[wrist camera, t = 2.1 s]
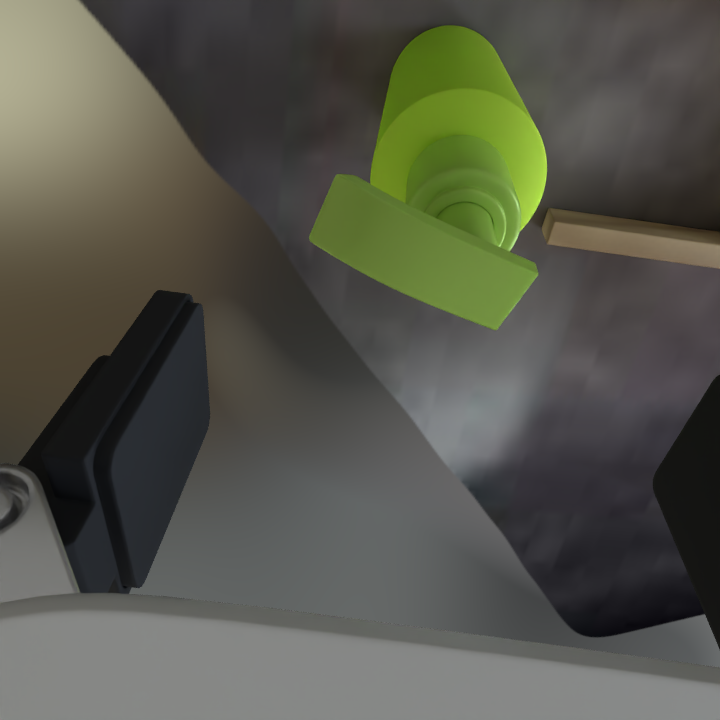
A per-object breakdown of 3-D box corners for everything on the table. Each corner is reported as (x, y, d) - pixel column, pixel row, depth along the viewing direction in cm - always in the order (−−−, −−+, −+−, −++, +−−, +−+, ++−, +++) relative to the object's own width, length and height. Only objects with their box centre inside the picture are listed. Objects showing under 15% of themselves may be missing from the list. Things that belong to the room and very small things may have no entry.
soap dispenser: (402, -9, 27) (372, 92, 12) (527, 60, 29) (653, 236, 13) (353, 109, 31) (276, 312, 15) (466, 166, 32) (506, 408, 16)
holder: (635, -59, 25) (649, -58, 24) (892, -23, 25) (922, -19, 24) (540, 229, 34) (546, 244, 32) (733, 256, 34) (748, 273, 32)
